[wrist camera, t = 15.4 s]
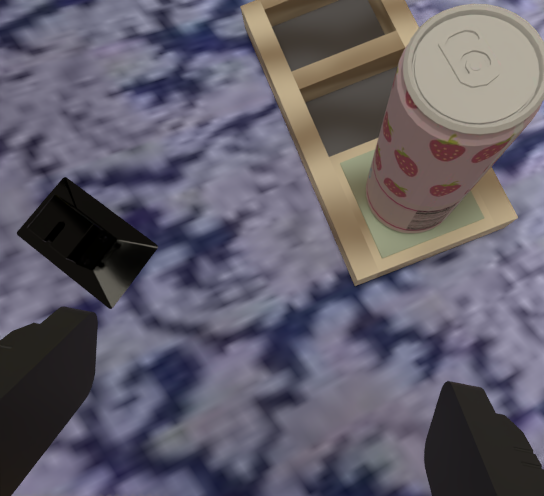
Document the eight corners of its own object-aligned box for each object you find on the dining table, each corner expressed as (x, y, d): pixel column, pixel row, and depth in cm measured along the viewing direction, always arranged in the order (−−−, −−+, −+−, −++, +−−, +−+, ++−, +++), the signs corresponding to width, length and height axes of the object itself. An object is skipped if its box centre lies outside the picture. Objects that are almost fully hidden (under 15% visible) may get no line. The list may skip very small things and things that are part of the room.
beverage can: (401, 135, 34) (461, -30, 20) (472, 187, 33) (591, 52, 19) (347, 198, 34) (367, 75, 19) (417, 252, 33) (495, 166, 18)
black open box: (0, 232, 39) (-40, 215, 35) (62, 158, 40) (31, 132, 36) (121, 330, 37) (94, 325, 32) (184, 248, 38) (167, 233, 33)
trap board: (245, 27, 40) (240, 4, 38) (375, -24, 40) (379, -51, 38) (354, 286, 35) (357, 280, 33) (504, 227, 35) (519, 217, 33)
